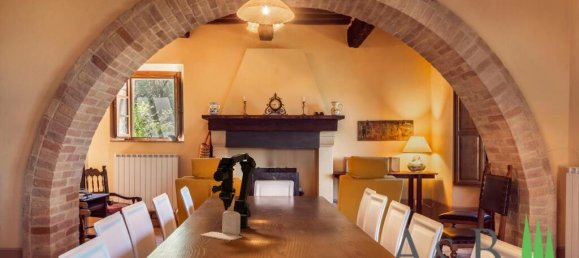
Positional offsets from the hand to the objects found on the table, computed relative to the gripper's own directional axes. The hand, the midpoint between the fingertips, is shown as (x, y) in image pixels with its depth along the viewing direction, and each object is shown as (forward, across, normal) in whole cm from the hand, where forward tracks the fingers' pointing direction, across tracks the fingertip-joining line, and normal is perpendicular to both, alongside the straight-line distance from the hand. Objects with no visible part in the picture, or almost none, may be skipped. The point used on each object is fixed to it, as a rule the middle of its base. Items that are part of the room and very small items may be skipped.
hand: (227, 208), depth 239 cm
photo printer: (+13, +2, +2) cm, 14 cm away
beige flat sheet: (+13, +8, -2) cm, 16 cm away
